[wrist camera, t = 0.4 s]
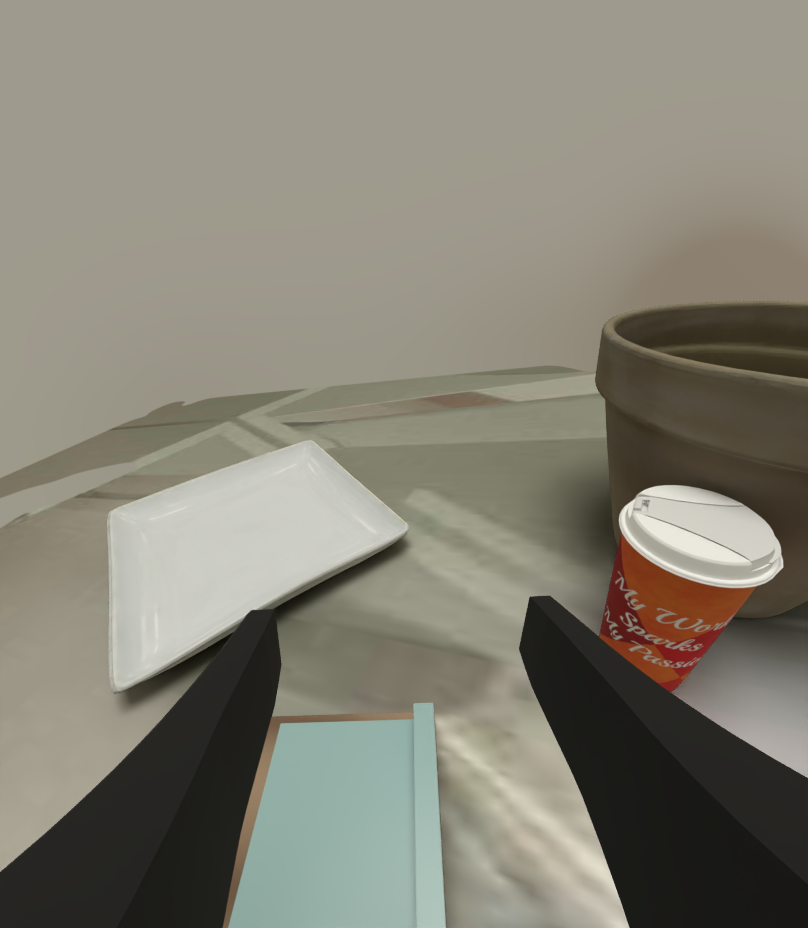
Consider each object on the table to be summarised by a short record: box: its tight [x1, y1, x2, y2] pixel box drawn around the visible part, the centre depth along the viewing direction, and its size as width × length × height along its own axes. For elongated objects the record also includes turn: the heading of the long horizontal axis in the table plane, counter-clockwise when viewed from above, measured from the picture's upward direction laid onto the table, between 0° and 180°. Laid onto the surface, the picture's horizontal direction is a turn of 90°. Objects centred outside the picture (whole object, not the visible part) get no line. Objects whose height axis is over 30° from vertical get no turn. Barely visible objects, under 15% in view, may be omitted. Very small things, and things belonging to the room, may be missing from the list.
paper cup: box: [599, 485, 783, 692], centre depth 25 cm, size 8×8×14 cm
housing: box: [223, 712, 447, 928], centre depth 18 cm, size 18×16×4 cm
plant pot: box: [595, 301, 808, 618], centre depth 31 cm, size 25×25×22 cm
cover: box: [228, 703, 446, 928], centre depth 19 cm, size 10×10×3 cm
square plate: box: [107, 440, 409, 694], centre depth 43 cm, size 27×27×4 cm
